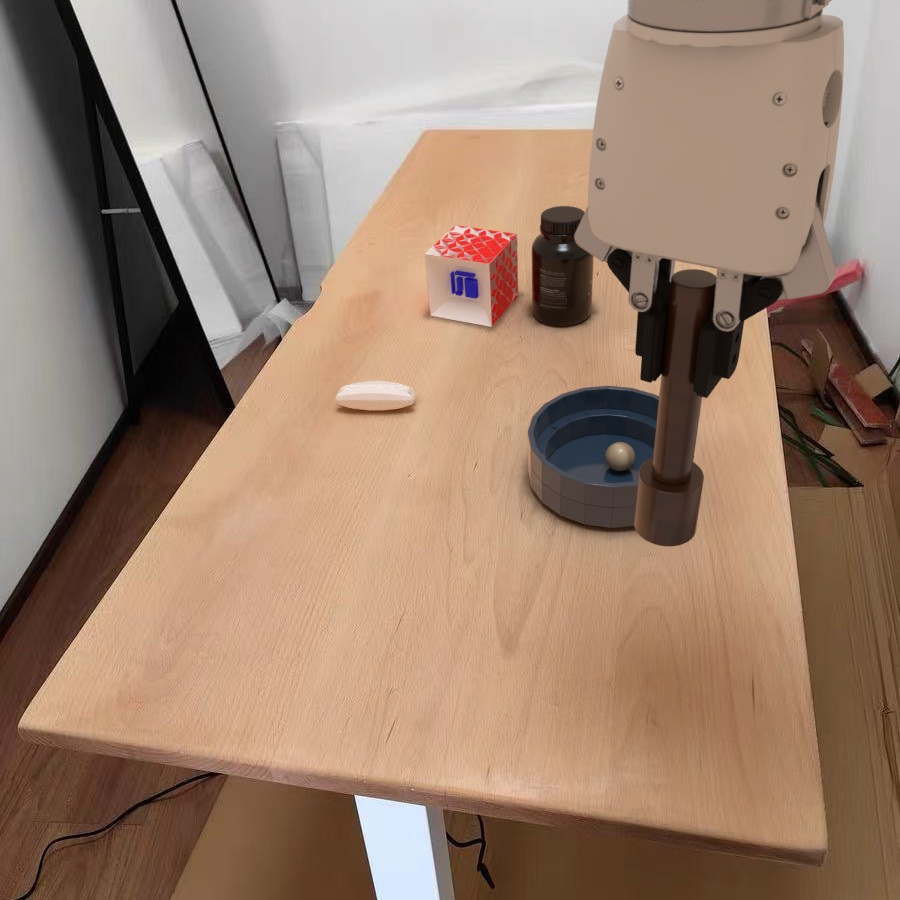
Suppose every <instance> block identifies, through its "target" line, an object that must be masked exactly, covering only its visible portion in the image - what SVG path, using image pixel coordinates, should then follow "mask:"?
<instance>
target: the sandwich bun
mask: <svg viewBox="0 0 900 900" xmlns="http://www.w3.org/2000/svg"><path fill="white" fill-rule="evenodd" d="M415 396H416V392H415V389H413V388H412V387H411V386H408V385H405V384H402V383H399V382H393V381H388V380H367V381H359V382H353V383H350V384H345V385H343V386H342V387H341V388H340V389H339V390H338V391H337V393H336V396H335V398H334V400H335V403H336V404H337V405H339V406H342V407H345V408H349V409H351V410H352V409H353V410H360V411H368V412H369V411H371V412H375V411H376V412H378V411H379V412H381V411H393V410H398V409H403V408H406V407H409V406H412V405H414V404H415Z"/></svg>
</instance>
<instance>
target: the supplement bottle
mask: <svg viewBox="0 0 900 900" xmlns="http://www.w3.org/2000/svg"><path fill="white" fill-rule="evenodd" d="M584 213H585V211H584V210H583V209H581V208H579V207H577V206H571V205H559V206H558V205H557V206H552V207H549V208H546V209H545V210H543V211H542V212H541V214H540V224H539V232H540V234H539V235H537V236H536V237H535V238H534V240H533V242H532V245H531V300H532V301H531V305H532V306H531V309H532V313H533V316H534V318H536V319H537V320H538V321H539V322H542V323H543V324H546V325H551V326H555V327H556V326H557V327H564V326H567V327H568V326H573V325H577V324H579V323H581V322H583V321H585V320H586V319H588V317H589V316H590V314H591V313H592V306H593V287H594V286H593V285H594V284H593V280H594V259H595V257H594V256H593V255H591V254H590V253H588V252H587V251H585V250H584V249H582V248H581V247H579V246H578V245H577V244H576V242H575V240H574V235H575V232H576V230H577V228H578V226H579V224H580V222H581V219H582V217H583V215H584Z"/></svg>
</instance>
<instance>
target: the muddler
mask: <svg viewBox="0 0 900 900" xmlns="http://www.w3.org/2000/svg"><path fill="white" fill-rule="evenodd" d="M716 277H717V275H715V274H714V273H712V272H710V271H708V270H704V269H698V268H689V269H681V270H678V271H676V272H674V274H673V276H672V278H671V286H670V296H669V306H668V315H667V325H666V335H665V345H664V354H663V364H662V374H661V375H660V385H659V394H658V396H659V403H658V413H657V422H656V432H655V442H654V452H653V457H652V458H650V459H648V460H646V461H645V462H644V463H643V464H642V465H641V467H640V469H639V475H638V486H637V497H636V508H635V519H634V526H633V527H634V529H635V531H636V533H637V534H638V535H639V537H641V539H643V540H645V541H646V542H648V543H650V544H653V545H656V546H660V547H677V546H678V547H679V546H682V545H685V544H686V543H688V542H690V541H691V540H692V539H693V538H694V537H695V535H696V532H697V528H698V527H697V526H698V520H699V515H700V508H701V507H700V506H701V502H702V501H701V499H702V494H703V488H704V481H705V475H704V471H703V470H702V469H701V467H700V466H699V465H698V464H697V463H696V462H694V460H695V459H694V458H695V451H696V444H697V436H698V430H699V424H700V423H699V422H700V416H701V408H702V401H703V397H700V396H697V395H696V392H693V388H694V379H695V370H696V362H697V353H698V344H699V335H700V331H701V328H702V327H703V326H704V324H705V323H706V322H707V321H708V319H709V318H710V315H711V311H712V310H713V309H714V299H715V288H716Z"/></svg>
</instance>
